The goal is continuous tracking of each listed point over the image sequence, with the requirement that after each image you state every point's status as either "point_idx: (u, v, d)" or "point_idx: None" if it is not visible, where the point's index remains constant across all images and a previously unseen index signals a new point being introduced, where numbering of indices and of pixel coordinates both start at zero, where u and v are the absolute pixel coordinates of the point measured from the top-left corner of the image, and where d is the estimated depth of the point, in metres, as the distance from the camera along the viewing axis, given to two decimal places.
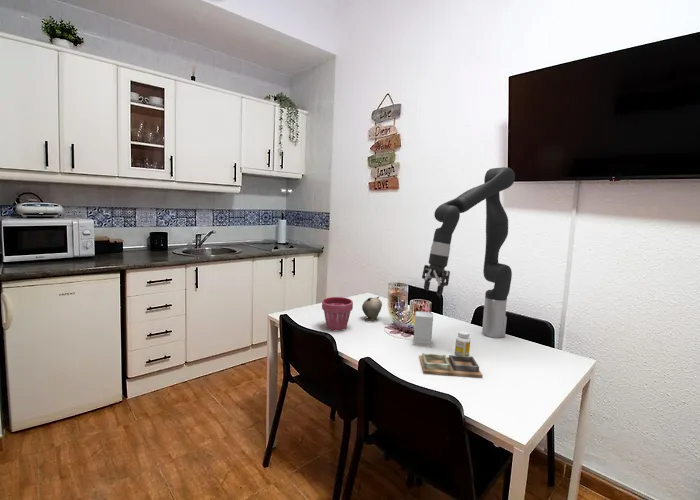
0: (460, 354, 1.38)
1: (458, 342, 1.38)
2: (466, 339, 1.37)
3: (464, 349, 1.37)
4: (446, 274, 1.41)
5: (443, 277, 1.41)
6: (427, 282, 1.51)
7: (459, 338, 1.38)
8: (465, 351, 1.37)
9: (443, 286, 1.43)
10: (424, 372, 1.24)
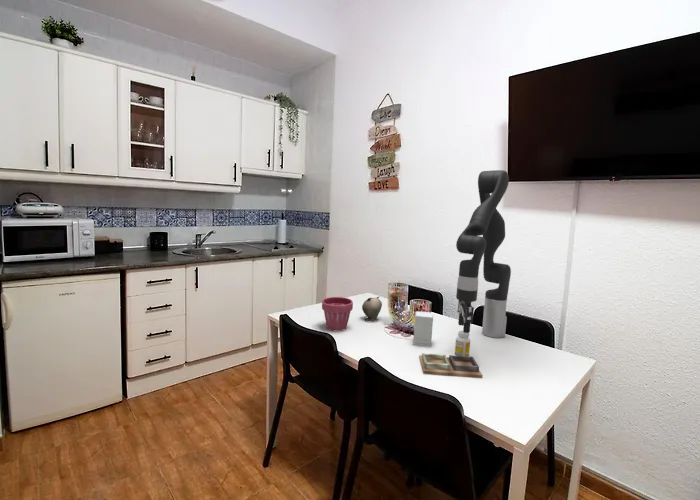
0: (460, 354, 1.38)
1: (458, 342, 1.38)
2: (466, 339, 1.37)
3: (464, 349, 1.37)
4: (469, 311, 1.31)
5: (466, 314, 1.31)
6: (461, 317, 1.42)
7: (459, 338, 1.38)
8: (465, 351, 1.37)
9: (469, 323, 1.33)
10: (424, 372, 1.24)
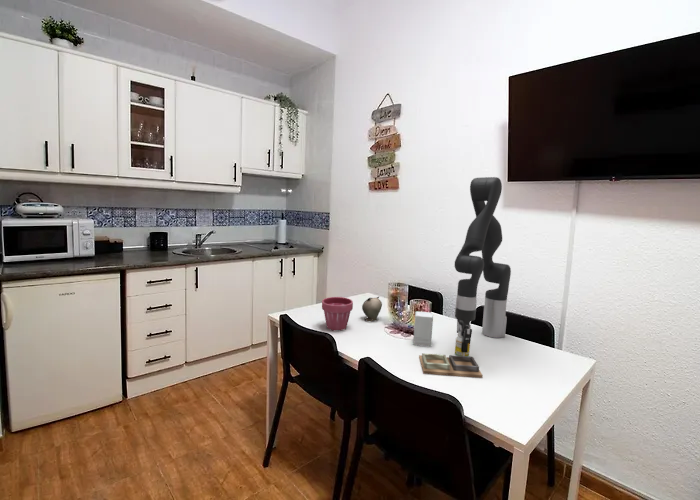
0: (460, 354, 1.38)
1: (458, 342, 1.38)
2: (466, 339, 1.37)
3: None
4: (467, 333, 1.32)
5: (464, 335, 1.33)
6: None
7: (459, 338, 1.38)
8: None
9: (466, 343, 1.35)
10: (424, 372, 1.24)
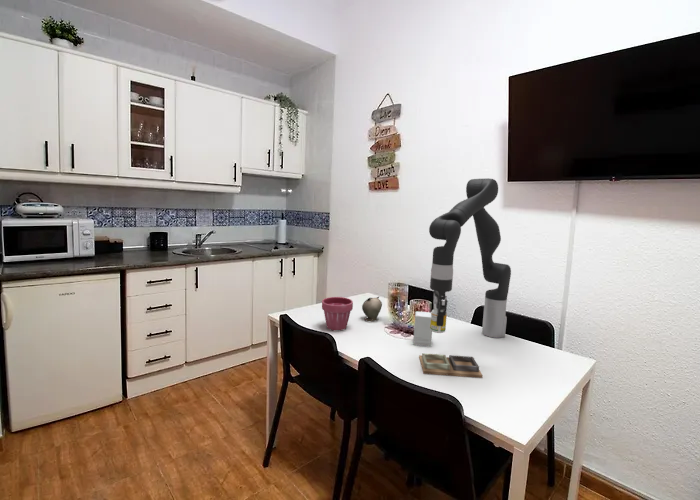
0: (435, 328, 1.26)
1: (434, 315, 1.26)
2: None
3: None
4: (442, 304, 1.20)
5: (439, 307, 1.21)
6: None
7: (434, 311, 1.26)
8: None
9: (442, 316, 1.24)
10: (424, 372, 1.24)
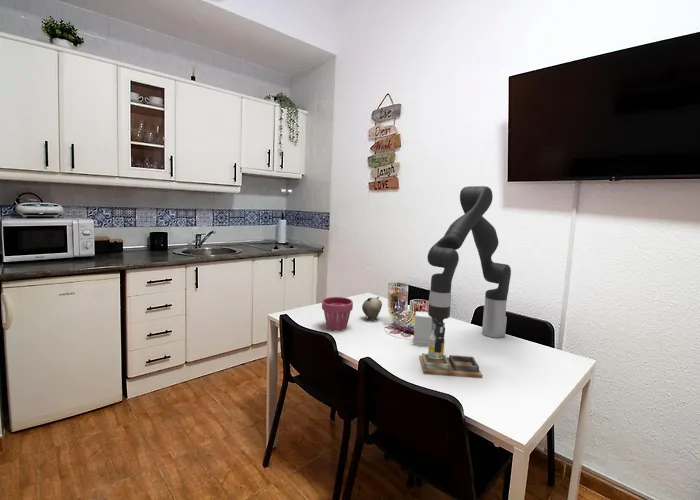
0: (433, 354, 1.27)
1: (432, 341, 1.27)
2: (440, 338, 1.27)
3: None
4: (440, 332, 1.22)
5: (437, 334, 1.23)
6: None
7: (432, 337, 1.28)
8: None
9: (440, 343, 1.25)
10: (424, 372, 1.24)
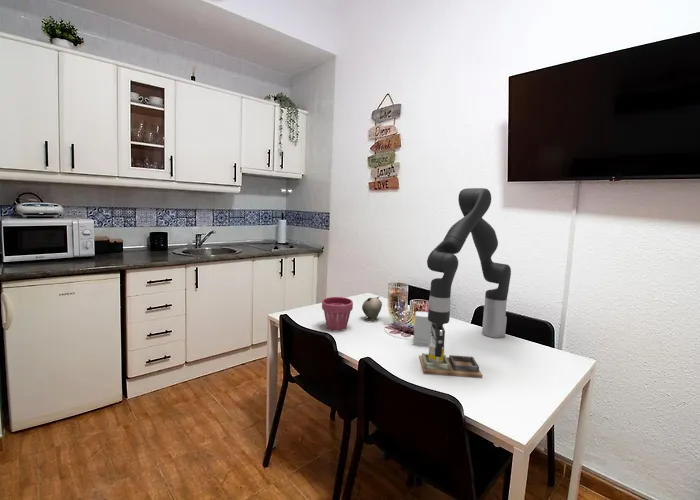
0: (433, 362, 1.27)
1: (432, 348, 1.28)
2: None
3: None
4: (440, 334, 1.21)
5: (437, 337, 1.22)
6: None
7: (432, 344, 1.28)
8: (438, 358, 1.27)
9: (440, 347, 1.23)
10: (424, 372, 1.24)
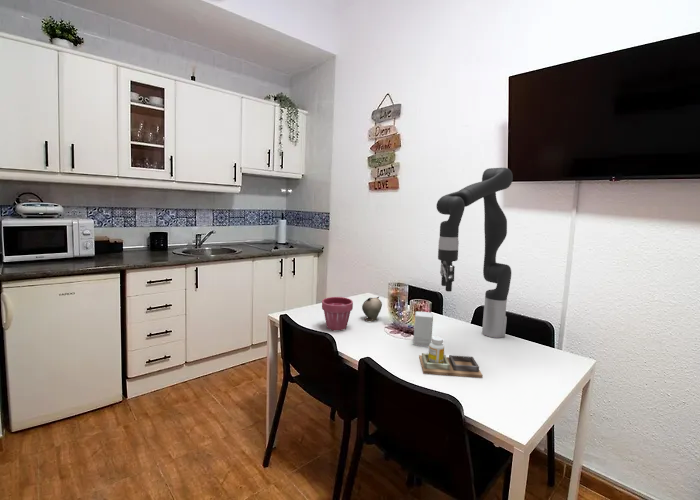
0: (433, 362, 1.27)
1: (432, 349, 1.27)
2: (440, 345, 1.27)
3: (437, 356, 1.27)
4: (450, 269, 1.34)
5: (447, 273, 1.35)
6: (444, 277, 1.45)
7: (432, 344, 1.28)
8: (438, 358, 1.27)
9: (450, 282, 1.36)
10: (424, 372, 1.24)
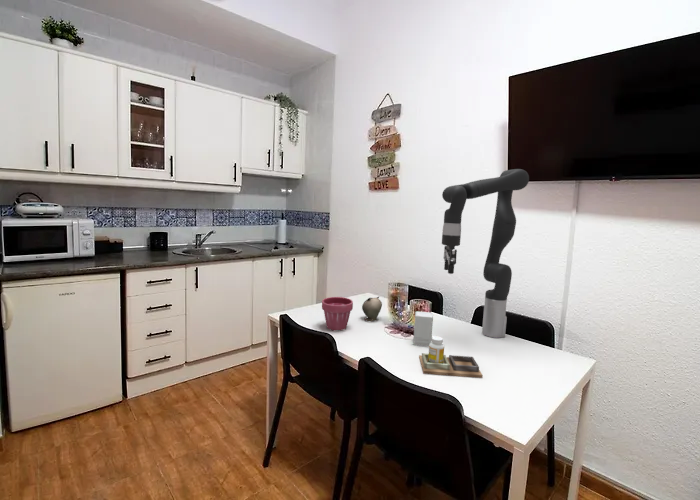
0: (433, 362, 1.27)
1: (432, 349, 1.28)
2: (440, 345, 1.27)
3: (438, 356, 1.27)
4: (452, 253, 1.45)
5: (450, 256, 1.46)
6: (446, 262, 1.57)
7: (432, 344, 1.28)
8: (438, 358, 1.27)
9: (453, 265, 1.47)
10: (424, 372, 1.24)
